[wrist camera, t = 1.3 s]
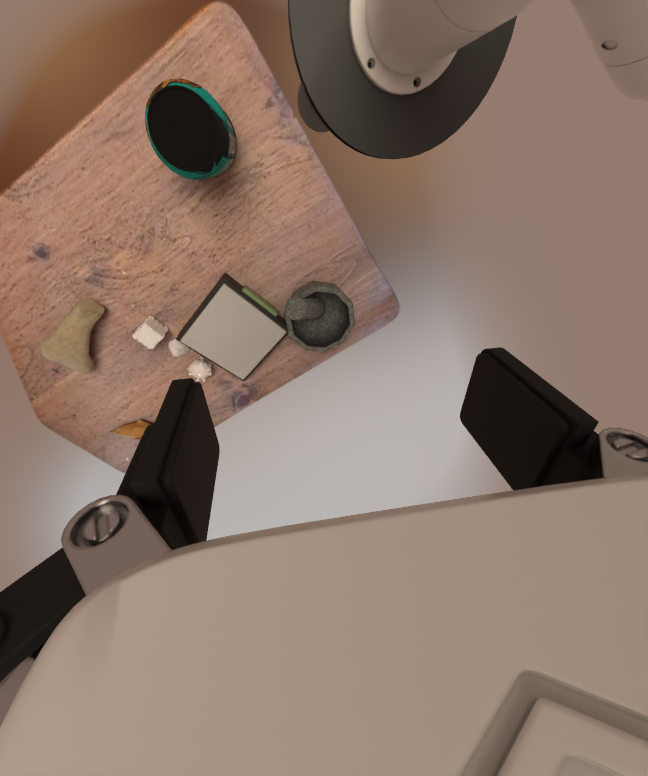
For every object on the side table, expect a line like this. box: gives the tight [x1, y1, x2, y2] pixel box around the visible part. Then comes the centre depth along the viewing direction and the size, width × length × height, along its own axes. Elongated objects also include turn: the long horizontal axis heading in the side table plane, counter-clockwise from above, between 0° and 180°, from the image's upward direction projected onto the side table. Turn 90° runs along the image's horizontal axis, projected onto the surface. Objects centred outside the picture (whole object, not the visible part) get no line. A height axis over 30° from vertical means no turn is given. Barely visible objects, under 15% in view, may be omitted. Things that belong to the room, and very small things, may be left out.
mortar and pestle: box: [285, 281, 355, 352], centre depth 45 cm, size 11×9×12 cm
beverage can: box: [145, 79, 237, 180], centre depth 32 cm, size 7×7×12 cm
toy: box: [111, 420, 150, 440], centre depth 58 cm, size 3×17×5 cm
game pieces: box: [132, 316, 212, 381], centre depth 49 cm, size 12×3×3 cm, turn 39°
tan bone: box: [40, 298, 104, 374], centre depth 45 cm, size 11×6×5 cm, turn 152°
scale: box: [176, 273, 288, 381], centre depth 49 cm, size 13×12×3 cm
